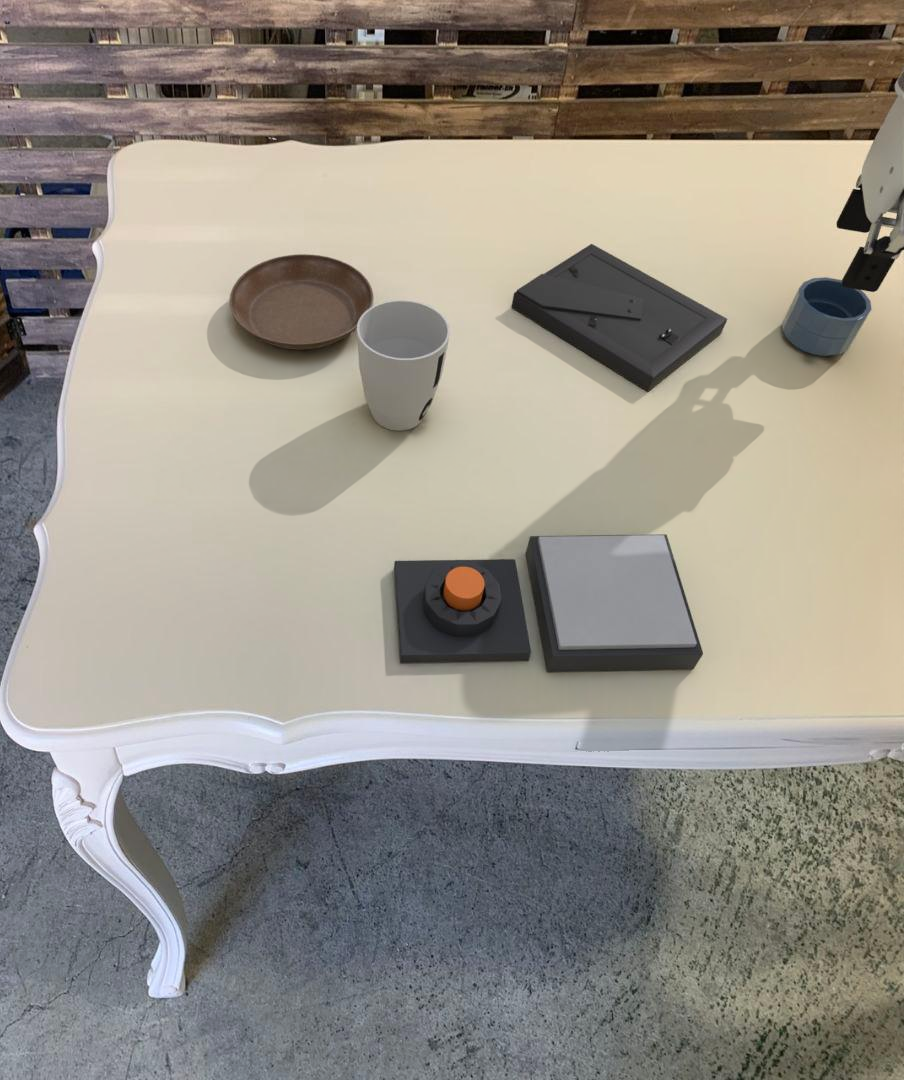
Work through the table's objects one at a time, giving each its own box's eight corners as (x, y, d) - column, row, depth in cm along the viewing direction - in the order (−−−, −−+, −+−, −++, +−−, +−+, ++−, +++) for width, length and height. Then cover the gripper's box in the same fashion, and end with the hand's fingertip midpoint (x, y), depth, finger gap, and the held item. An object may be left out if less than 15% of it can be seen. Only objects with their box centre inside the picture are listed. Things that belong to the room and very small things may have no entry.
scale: (658, 551, 76) (669, 529, 74) (693, 669, 69) (706, 649, 67) (525, 553, 76) (531, 531, 74) (546, 672, 69) (554, 652, 67)
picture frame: (511, 307, 96) (647, 392, 89) (514, 290, 94) (654, 375, 87) (587, 258, 102) (722, 333, 94) (591, 240, 100) (729, 316, 93)
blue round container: (846, 323, 96) (868, 284, 92) (850, 365, 92) (874, 326, 88) (779, 311, 97) (798, 272, 93) (780, 352, 93) (800, 313, 89)
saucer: (209, 345, 91) (206, 324, 89) (262, 263, 100) (260, 241, 98) (347, 377, 89) (347, 356, 87) (389, 290, 98) (390, 268, 96)
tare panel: (512, 567, 75) (518, 545, 73) (528, 661, 70) (535, 640, 67) (393, 568, 75) (395, 547, 72) (400, 663, 69) (402, 643, 67)
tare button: (479, 579, 71) (482, 566, 70) (483, 610, 69) (486, 598, 68) (441, 579, 71) (443, 566, 70) (445, 611, 69) (447, 598, 68)
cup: (441, 443, 84) (451, 361, 76) (354, 441, 84) (355, 358, 76) (438, 384, 89) (448, 301, 81) (356, 381, 89) (358, 298, 81)
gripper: (1018, 139, 68) (903, 320, 81) (984, 38, 78) (887, 215, 92) (913, 123, 69) (818, 305, 82) (893, 26, 79) (811, 202, 93)
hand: (854, 257), depth 87 cm, fingers open, 9 cm apart
